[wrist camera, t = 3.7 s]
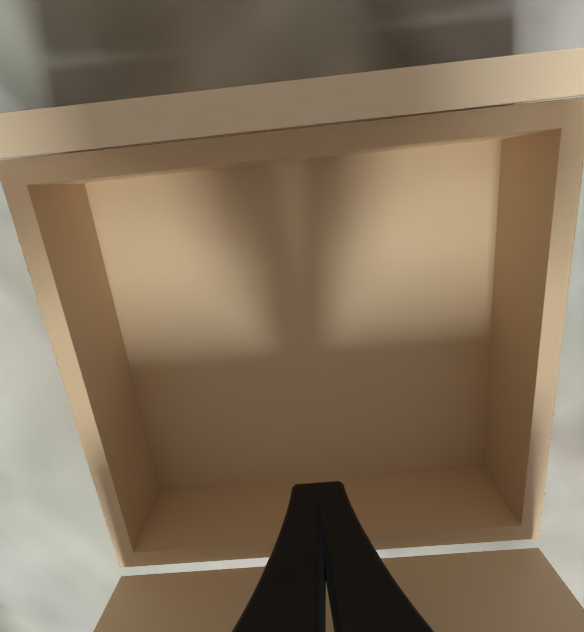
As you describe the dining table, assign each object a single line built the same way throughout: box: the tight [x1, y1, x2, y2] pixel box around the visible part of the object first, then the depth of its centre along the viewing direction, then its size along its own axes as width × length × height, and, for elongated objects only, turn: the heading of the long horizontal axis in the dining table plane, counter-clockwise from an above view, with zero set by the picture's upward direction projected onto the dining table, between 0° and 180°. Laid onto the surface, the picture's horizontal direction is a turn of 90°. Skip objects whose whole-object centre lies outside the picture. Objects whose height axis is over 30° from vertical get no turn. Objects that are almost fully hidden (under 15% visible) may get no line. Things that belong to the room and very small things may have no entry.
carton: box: [0, 97, 584, 567], centre depth 13 cm, size 14×13×4 cm
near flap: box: [0, 47, 584, 159], centre depth 7 cm, size 14×4×1 cm
